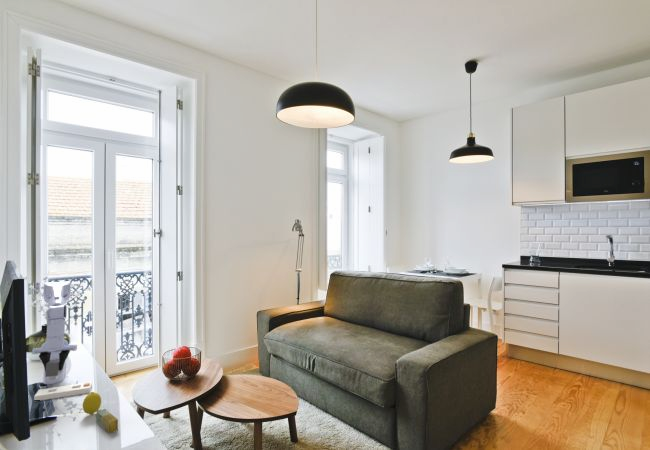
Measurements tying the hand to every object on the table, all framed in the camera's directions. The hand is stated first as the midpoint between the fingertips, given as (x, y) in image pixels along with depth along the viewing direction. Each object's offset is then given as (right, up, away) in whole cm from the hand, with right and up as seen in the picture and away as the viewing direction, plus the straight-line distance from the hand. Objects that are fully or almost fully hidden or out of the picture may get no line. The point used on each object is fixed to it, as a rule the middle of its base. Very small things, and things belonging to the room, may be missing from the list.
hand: (54, 370), depth 142 cm
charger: (0, -3, 0) cm, 3 cm away
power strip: (+3, -11, +1) cm, 12 cm away
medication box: (+35, -10, -23) cm, 43 cm away
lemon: (+25, -10, -15) cm, 31 cm away
